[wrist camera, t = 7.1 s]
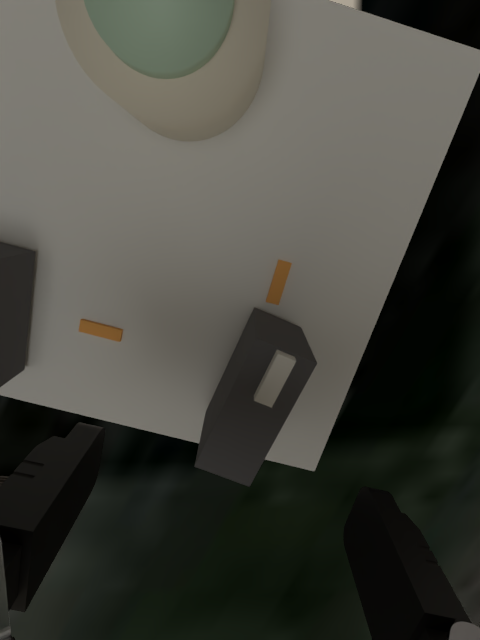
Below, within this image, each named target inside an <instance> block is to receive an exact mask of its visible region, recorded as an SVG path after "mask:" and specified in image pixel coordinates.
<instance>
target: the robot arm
mask: <svg viewBox="0 0 480 640" xmlns="http://www.w3.org/2000/svg"><path fill="white" fill-rule="evenodd" d="M104 436H105V428H102V427H98V426H93V425H89V424H84V423H78V424H77V425H76V426H75V427H74V428H73V429H72V431H71V432H70V433H69V434H68V436H67V437H66V438H61V437H56V436H53V437H51V438H50V439H48V440H46V441H44V442H43V443H41V444H39V445H37V446H36V447H35V448H34V449H33V450H32V451H31V453H30V454H29V455H28V456H27V457H26V458H25V459H24V461H23V463H21V464H20V465H19V466H18V467H17V468H16V469H15V470H14V472H13V474H11V475H10V476H9V477H8V478H7V479H6V480H5V481H4V483H3V484H2V485H1V486H0V640H15V638H14V637H12V636H11V631H10V622H9V610H10V609H11V610H16V611H21V612H25V611H26V609H27V607H28V606H29V604H30V602H31V600H32V598H33V597H34V595H35V593H36V591H37V589H38V588H39V586H40V584H41V582H42V580H43V578H44V577H45V575H46V573H47V571H48V569H49V568H50V566H51V564H52V562H53V560H54V559H55V557H56V555H57V553H58V551H59V549H60V548H61V546H62V544H63V542H64V540H65V539H66V537H67V535H68V533H69V531H70V530H71V528H72V526H73V524H74V522H75V521H76V519H77V517H78V515H79V513H80V511H81V510H82V508H83V506H84V504H85V502H86V501H87V499H88V497H89V495H90V493H91V491H92V489H93V487H94V485H95V482H96V479H97V476H98V472H99V467H100V460H101V454H102V448H103V442H104ZM344 546H345V550H346V553H347V556H348V560H349V563H350V566H351V570H352V573H353V577H354V580H355V583H356V587H357V590H358V593H359V597H360V600H361V603H362V607H363V610H364V613H365V617H366V620H367V623H368V627H369V630H370V633H371V637H372V640H480V627H478V626H476V625H474V624H472V623H471V622H470V620H469V618H468V616H467V614H466V613H465V611H464V609H463V607H462V605H461V603H460V602H459V600H458V598H457V596H456V594H455V593H454V591H453V589H452V587H451V585H450V584H449V582H448V580H447V578H446V576H445V575H444V573H443V571H442V569H441V567H440V566H438V564H437V563H438V562H437V560H436V558H435V556H434V555H433V553H432V551H430V550H429V548H430V547H429V546H428V544H427V542H426V540H425V538H424V537H423V535H422V533H421V531H420V530H419V528H418V527H417V526H416V525H415V524H414V523H413V522H412V521H411V520H410V518H409V517H408V516H407V515H406V514H404V513H401V512H400V510H399V508H398V506H397V504H396V502H395V500H394V498H393V496H392V495H391V494H390V493H389V492H387V491H383V490H378V489H374V488H369V487H362V488H361V490H360V491H359V493H358V496H357V498H356V500H355V503H354V505H353V507H352V510H351V512H350V514H349V517H348V519H347V521H346V524H345V527H344Z"/></svg>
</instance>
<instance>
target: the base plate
mask: <svg viewBox="0 0 480 640" xmlns="http://www.w3.org/2000/svg"><path fill="white" fill-rule="evenodd" d="M479 73H480V50H478V49H475V48H472V47H469V46H466V45H463V44H460V43H457V42H454V41H451V40H448V39H445V38H442V37H439V36H436V35H433V34H430V33H426V32H423V31H420V30H417V29H414V28H411V27H408V26H405V25H402V24H399V23H396V22H393V21H390V20H387V19H384V18H381V17H378V16H375V15H372V14H369V13H366V12H363V11H360V10H357V9H354V8H350V7H348V6H345V5H342V4H339V3H336V2H332V1H329V0H0V242H3V243H6V244H10V245H14V246H18V247H21V248H25V249H29V250H32V251H35V261H34V272H33V283H32V294H31V304H30V315H29V326H28V337H27V347H26V358H25V369H24V370H23V371H22V372H21V373H19V374H18V375H17V376H15V377H14V378H12V379H11V380H10V381H8V382H7V383H6V384H4V385H3V386H1V387H0V395H2V396H6V397H10V398H14V399H19V400H23V401H27V402H31V403H35V404H39V405H43V406H47V407H52V408H56V409H60V410H64V411H68V412H72V413H76V414H80V415H84V416H89V417H93V418H97V419H101V420H105V421H109V422H113V423H117V424H121V425H126V426H130V427H134V428H138V429H142V430H146V431H150V432H154V433H159V434H163V435H167V436H171V437H175V438H179V439H183V440H187V441H191V442H196V443H199V442H200V437H201V432H202V428H203V423H204V418H205V413H206V410H207V408H208V406H209V403H210V401H211V399H212V397H213V395H214V393H215V391H216V388H217V386H218V384H219V382H220V380H221V378H222V375H223V373H224V371H225V369H226V367H227V365H228V363H229V360H230V358H231V356H232V354H233V352H234V350H235V347H236V345H237V343H238V341H239V339H240V337H241V335H242V332H243V330H244V328H245V326H246V324H247V322H248V319H249V317H250V315H251V313H252V311H253V309H254V307H255V308H257V309H260V310H262V311H264V312H267V313H269V314H271V315H274V316H276V317H278V318H281V319H283V320H285V321H288V322H290V323H292V324H295V325H297V326H299V327H301V328H302V330H303V332H304V335H305V337H306V339H307V341H308V344H309V346H310V348H311V350H312V352H313V355H314V357H315V359H316V361H317V365H316V367H315V369H314V370H313V372H312V374H311V376H310V378H309V379H308V381H307V383H306V385H305V387H304V389H303V390H302V392H301V394H300V396H299V398H298V399H297V401H296V403H295V405H294V407H293V408H292V410H291V412H290V414H289V416H288V418H287V419H286V421H285V423H284V425H283V427H282V428H281V430H280V432H279V434H278V436H277V437H276V439H275V441H274V443H273V445H272V447H271V448H270V450H269V452H268V454H267V456H266V457H265V460H270V461H274V462H278V463H282V464H286V465H290V466H294V467H298V468H303V469H307V470H311V471H315V469H316V466H317V464H318V462H319V459H320V457H321V454H322V452H323V449H324V447H325V445H326V442H327V440H328V437H329V435H330V433H331V430H332V428H333V425H334V423H335V420H336V418H337V416H338V413H339V411H340V408H341V406H342V404H343V401H344V399H345V396H346V394H347V392H348V389H349V387H350V384H351V382H352V379H353V377H354V375H355V372H356V370H357V367H358V365H359V363H360V360H361V358H362V355H363V353H364V351H365V348H366V346H367V343H368V341H369V338H370V336H371V334H372V331H373V329H374V326H375V324H376V322H377V319H378V317H379V314H380V312H381V309H382V307H383V305H384V302H385V300H386V297H387V295H388V293H389V290H390V288H391V285H392V283H393V281H394V278H395V276H396V273H397V271H398V268H399V266H400V264H401V261H402V259H403V256H404V254H405V252H406V249H407V247H408V244H409V242H410V239H411V237H412V235H413V232H414V230H415V227H416V225H417V223H418V220H419V218H420V215H421V213H422V211H423V208H424V206H425V203H426V201H427V198H428V196H429V194H430V191H431V189H432V186H433V184H434V182H435V179H436V177H437V174H438V172H439V169H440V167H441V165H442V162H443V160H444V157H445V155H446V153H447V150H448V148H449V145H450V143H451V141H452V138H453V136H454V133H455V131H456V128H457V126H458V124H459V121H460V119H461V116H462V114H463V112H464V109H465V107H466V104H467V102H468V99H469V97H470V95H471V92H472V90H473V87H474V85H475V83H476V80H477V78H478V75H479Z"/></svg>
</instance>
